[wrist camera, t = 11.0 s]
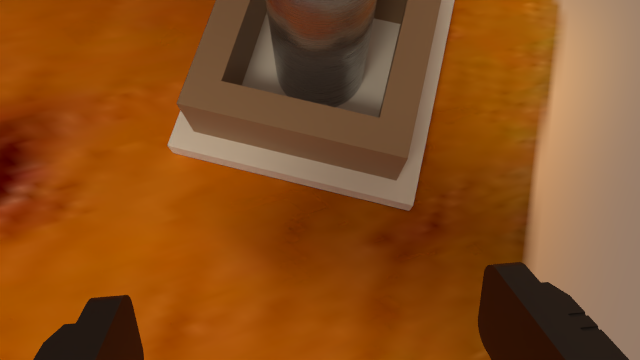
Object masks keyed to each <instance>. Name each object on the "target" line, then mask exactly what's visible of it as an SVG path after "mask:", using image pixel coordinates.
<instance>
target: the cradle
mask: <svg viewBox="0 0 640 360" xmlns="http://www.w3.org/2000/svg"><path fill="white" fill-rule="evenodd" d="M454 1H455V0H377V3H376V9H375V14H374V20H373V25H372V31H371V36H370V42H369V47H368V53H367V58H366V64H365V69H364V75H363V80H362V83H361V85H360V87H359V89H358V91H357V92H356V94H355V95H354V96H353V97H352V98H351V99H349V100H348V101H347V102H345V103H343V104H341V105H339V106H337V107H331V106H327V105H322V104H318V103H314V102H310V101H305V100H301V99H297V98H292V97H288V96H287V95H286V94H285V93H284V91H283V90H282V88H281V86H280V84H279V81H278V78H277V72H276V65H275V59H274V52H273V46H272V39H271V33H270V26H269V20H268V14H267V7H266V1H265V0H216V2H215V4H214V7H213V10H212V12H211V15H210V18H209V20H208V23H207V25H206V28H205V31H204V33H203V36H202V38H201V41H200V44H199V46H198V49H197V51H196V54H195V57H194V59H193V62H192V65H191V67H190V70H189V72H188V75H187V78H186V80H185V83H184V85H183V88H182V91H181V93H180V96H179V99H178V101H177V105H178V107H179V108H180V110H181V111H180V113H179V116H178V118H177V121H176V124H175V126H174V129H173V132H172V134H171V137H170V140H169V142H168V145H167V146H168V147H169V148H170V150H171V151H172V152H173V153H176V154H180V155H184V156H188V157H192V158H196V159H200V160H204V161H208V162H212V163H216V164H220V165H224V166H228V167H232V168H237V169H241V170H245V171H249V172H253V173H257V174H261V175H265V176H269V177H273V178H277V179H281V180H285V181H289V182H293V183H298V184H302V185H306V186H310V187H314V188H318V189H322V190H326V191H330V192H334V193H338V194H342V195H346V196H350V197H354V198H359V199H363V200H367V201H371V202H375V203H379V204H383V205H387V206H391V207H395V208H399V209H403V210H407V211H410V209H411V208H412V207H413V204H414V199H415V194H416V189H417V184H418V179H419V174H420V169H421V164H422V159H423V154H424V149H425V144H426V139H427V135H428V130H429V125H430V120H431V115H432V110H433V105H434V100H435V95H436V90H437V85H438V80H439V75H440V70H441V65H442V60H443V55H444V50H445V45H446V40H447V35H448V30H449V25H450V20H451V15H452V10H453V6H454Z"/></svg>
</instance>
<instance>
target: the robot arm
mask: <svg viewBox="0 0 640 360" xmlns="http://www.w3.org/2000/svg"><path fill="white" fill-rule="evenodd" d="M478 327H479V333H480V337H481V340H482V343H483V345H484V347H485V349H486V351H487V352H488V354H489V356H490V358H491V359H492V360H629V359H628V358H627V357H626V356H625V355H624V354H623V353H622V352H621V350H620V349H619V348H618V347H617V346H616V345H615V344H614V343H613V342H612V341H611V340H610V339H609V337H608V336H607V335H606V334H605V333H604V332H603V331H602V330H599V329H598V326H597V324H596V323H595V322H594V321H593V320H592V319H591V318H590V317H589V316H586V315H585V312H584V310H583V309H582V308H581V307H580V306H579V305H578V304H577V303H576V302H575V301H574V300H573V299H572V297H571V296H570V295H568V294H566V293H564V292H563V291H561V290H560V289H558V288H557V287H555V286H553V285H552V284H550V283H548V282H545V283H541V282H540V281H539V280H538V279H537V278H536V277H535V276H534V274H533V273H532V272H531V271H530V270H529V269H528V268H527V266H526V265H525V264H523V263H521V262H517V263H505V264H493V265H488V266H487V267H486V268H485V271H484V277H483V285H482V292H481V300H480V308H479V315H478ZM33 360H144V354H143V347H142V343H141V339H140V334H139V330H138V326H137V322H136V317H135V313H134V309H133V305H132V301H131V299H130V297H129V296H128V295H121V296H109V297H98V298H91V299H90V300H89V301H88V302H87V304H86V306H85V307H84V309H83V311H82V313H81V315H80V317H79V319H78V320H77V322H76V323H75V324H64V325H63V326H62V327H61V328H60V329H58V330H57V331H56V332H55V333H54V334H53V335H52V336H51V337H49V338H48V339H47V340H46V341H45V342H44V343H43V344H42V346H41V348H40V349H39V351H38V353H37V354H36V356H35V358H34V359H33Z"/></svg>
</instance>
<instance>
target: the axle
mask: <svg viewBox="0 0 640 360" xmlns="http://www.w3.org/2000/svg"><path fill="white" fill-rule="evenodd" d="M265 1H266V7H267V14H268V20H269V26H270V33H271V39H272V46H273V52H274V59H275V65H276V72H277V78H278V81H279V84H280V86H281V88H282V90H283V91H284V93H285V94H286V95H287V96H288V97H292V98H297V99H301V100H305V101H310V102H314V103H318V104H322V105H327V106H331V107H337V106H339V105H341V104H343V103H345V102H347V101H348V100H349V99H351V98H352V97H353V96H354V95H355V94H356V92H357V91H358V89H359V87H360V85H361V83H362V80H363V75H364V69H365V64H366V58H367V53H368V47H369V42H370V36H371V31H372V25H373V20H374V14H375V9H376V3H377V0H265Z"/></svg>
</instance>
